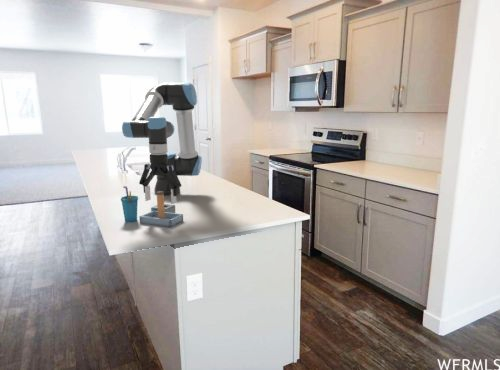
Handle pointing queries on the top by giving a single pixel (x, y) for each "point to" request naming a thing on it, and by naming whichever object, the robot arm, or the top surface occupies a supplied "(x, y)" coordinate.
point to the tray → (153, 219)
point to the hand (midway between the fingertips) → (160, 201)
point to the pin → (160, 205)
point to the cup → (129, 206)
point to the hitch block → (167, 208)
